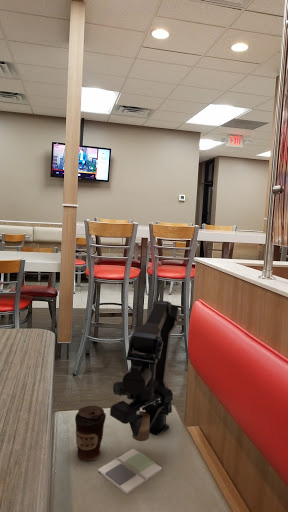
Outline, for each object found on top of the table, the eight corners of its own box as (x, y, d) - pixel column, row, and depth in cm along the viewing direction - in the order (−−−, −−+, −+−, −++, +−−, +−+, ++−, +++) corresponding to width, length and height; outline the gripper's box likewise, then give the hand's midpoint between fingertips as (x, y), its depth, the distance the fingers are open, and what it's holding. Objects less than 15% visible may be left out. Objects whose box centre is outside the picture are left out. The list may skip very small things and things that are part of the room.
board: (133, 450, 110) (133, 447, 110) (161, 469, 103) (161, 466, 102) (97, 471, 101) (98, 467, 101) (126, 494, 93) (126, 490, 93)
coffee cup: (98, 467, 102) (99, 422, 101) (68, 461, 104) (70, 417, 102) (107, 447, 111) (109, 405, 109) (80, 442, 112) (81, 401, 111)
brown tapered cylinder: (152, 436, 103) (153, 415, 103) (140, 443, 100) (141, 422, 99) (140, 429, 106) (141, 409, 106) (129, 435, 103) (130, 415, 102)
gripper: (146, 358, 113) (143, 408, 115) (97, 376, 100) (95, 432, 102) (175, 371, 106) (172, 424, 108) (126, 392, 92) (123, 452, 94)
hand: (141, 432), depth 103 cm, fingers closed on brown tapered cylinder, 4 cm apart
